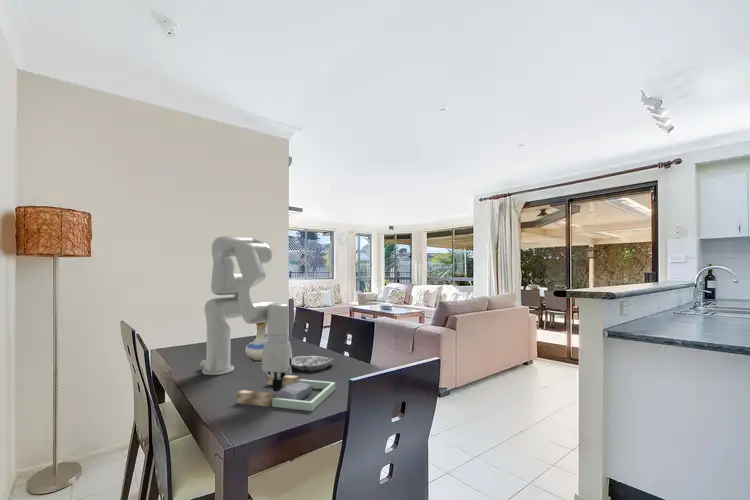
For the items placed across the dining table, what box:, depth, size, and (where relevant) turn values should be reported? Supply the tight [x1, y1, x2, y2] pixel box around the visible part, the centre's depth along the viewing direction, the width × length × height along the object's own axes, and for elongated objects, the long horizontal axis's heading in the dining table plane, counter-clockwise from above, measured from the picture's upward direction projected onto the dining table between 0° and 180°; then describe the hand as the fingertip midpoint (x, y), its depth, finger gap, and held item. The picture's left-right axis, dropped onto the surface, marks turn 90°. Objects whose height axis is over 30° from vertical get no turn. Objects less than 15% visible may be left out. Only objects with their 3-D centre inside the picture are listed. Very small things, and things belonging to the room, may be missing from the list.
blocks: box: [236, 374, 300, 407], centre depth 129 cm, size 12×21×4 cm, turn 165°
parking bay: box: [271, 378, 336, 412], centre depth 126 cm, size 14×20×2 cm
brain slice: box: [292, 355, 335, 372], centre depth 162 cm, size 20×17×3 cm
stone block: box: [273, 383, 313, 400], centre depth 126 cm, size 12×5×10 cm
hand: (277, 389), depth 128 cm, fingers closed
